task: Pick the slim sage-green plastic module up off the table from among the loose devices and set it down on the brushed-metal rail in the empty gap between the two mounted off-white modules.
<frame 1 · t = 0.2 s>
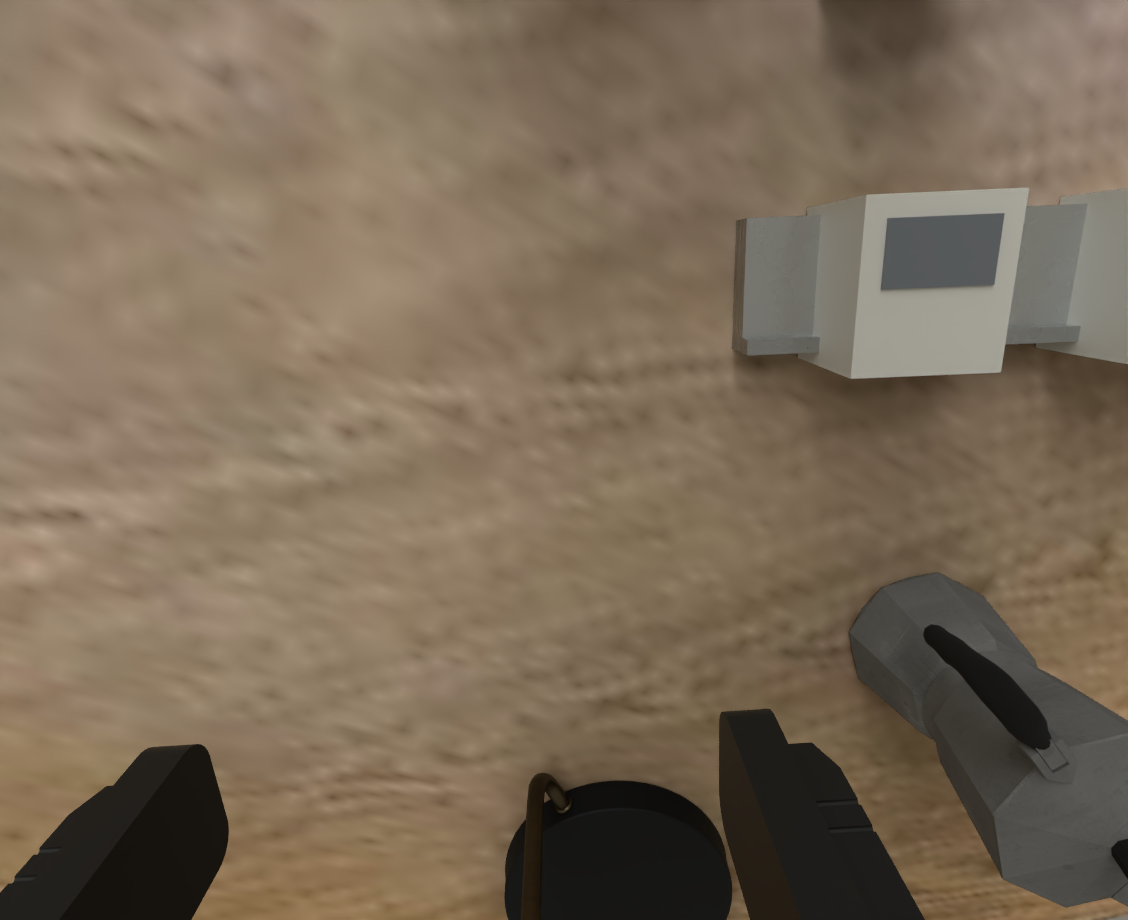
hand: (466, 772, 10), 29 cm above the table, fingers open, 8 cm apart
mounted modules: (988, 277, 36), resting on rail
coffeepot: (906, 621, 42), on the table
rail: (988, 277, 36), on the table
lamp: (605, 851, 48), on the table
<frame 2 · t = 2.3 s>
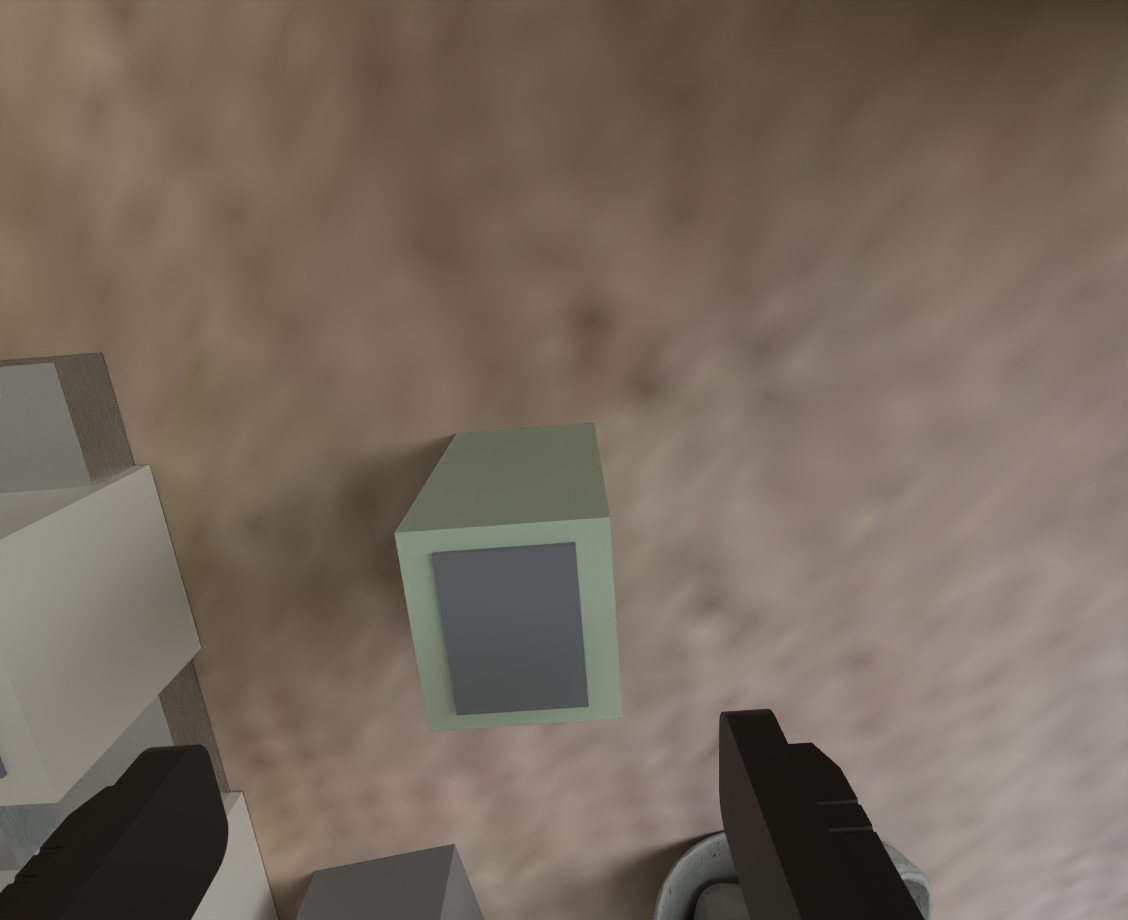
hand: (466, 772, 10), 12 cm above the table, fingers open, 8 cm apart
ceramic mug: (778, 882, 27), on the table
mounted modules: (118, 729, 25), resting on rail
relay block: (408, 908, 28), on the table
rail: (118, 729, 25), on the table
module: (532, 500, 22), on the table
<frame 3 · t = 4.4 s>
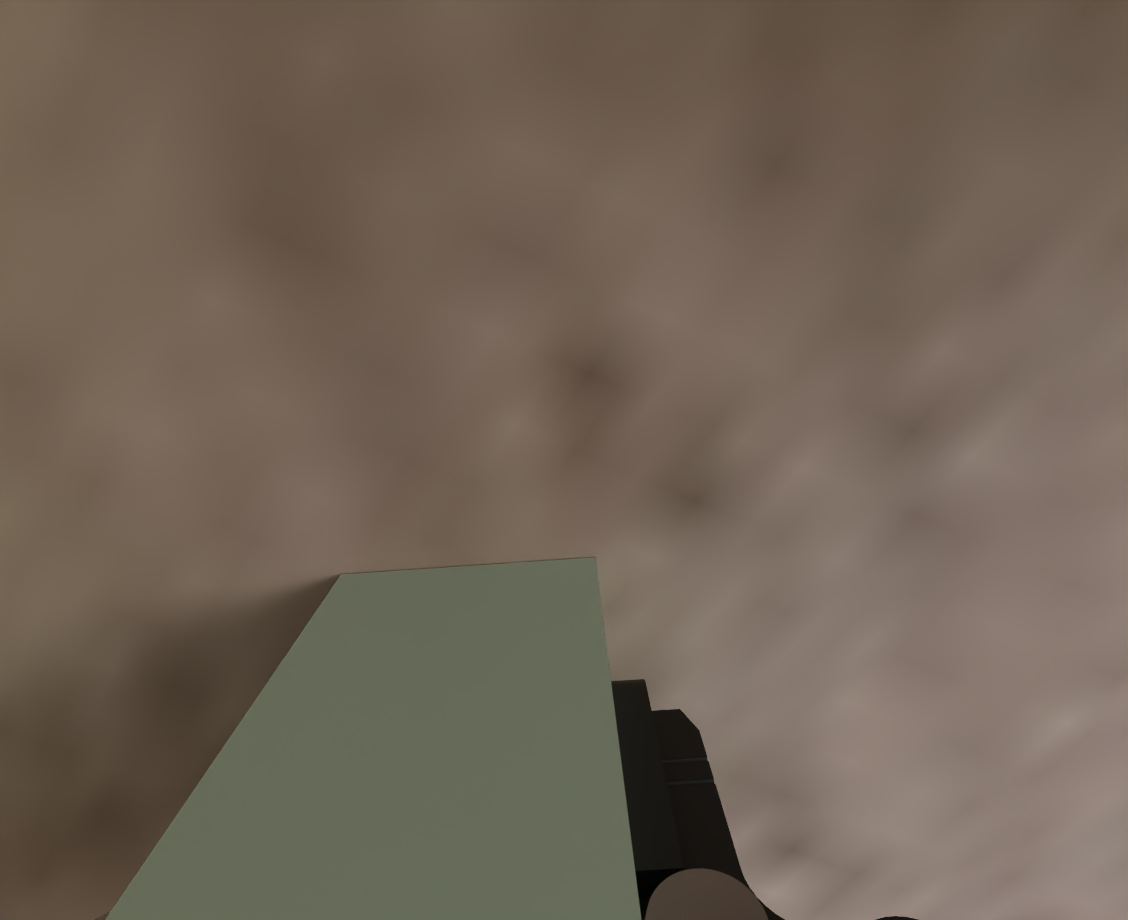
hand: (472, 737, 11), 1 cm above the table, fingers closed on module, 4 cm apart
module: (482, 686, 12), on the table, touching gripper
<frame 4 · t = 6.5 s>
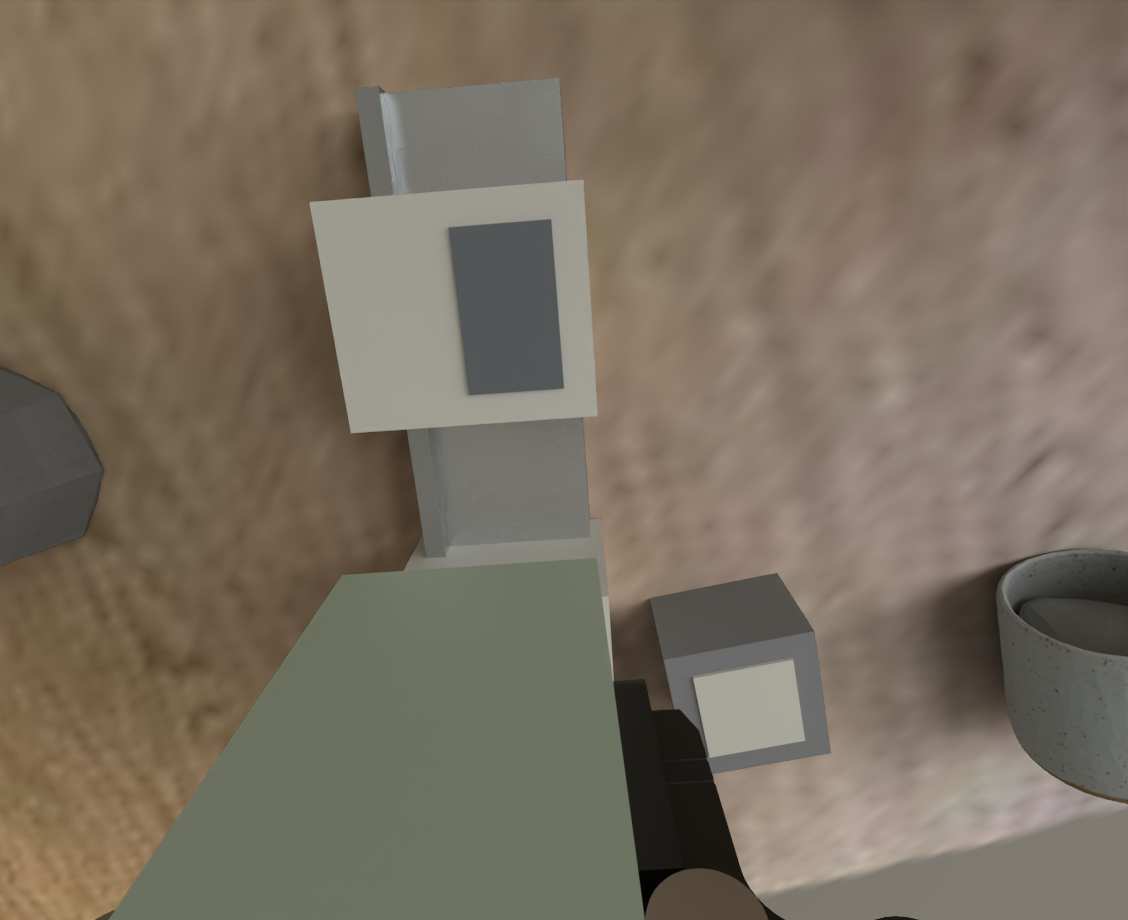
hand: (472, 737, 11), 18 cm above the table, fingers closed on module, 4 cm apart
ceramic mug: (1072, 611, 31), on the table
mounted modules: (505, 455, 29), resting on rail
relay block: (722, 638, 32), on the table
coffeepot: (20, 444, 29), on the table
rail: (505, 455, 29), on the table
module: (483, 687, 12), point 17 cm above the table, touching gripper
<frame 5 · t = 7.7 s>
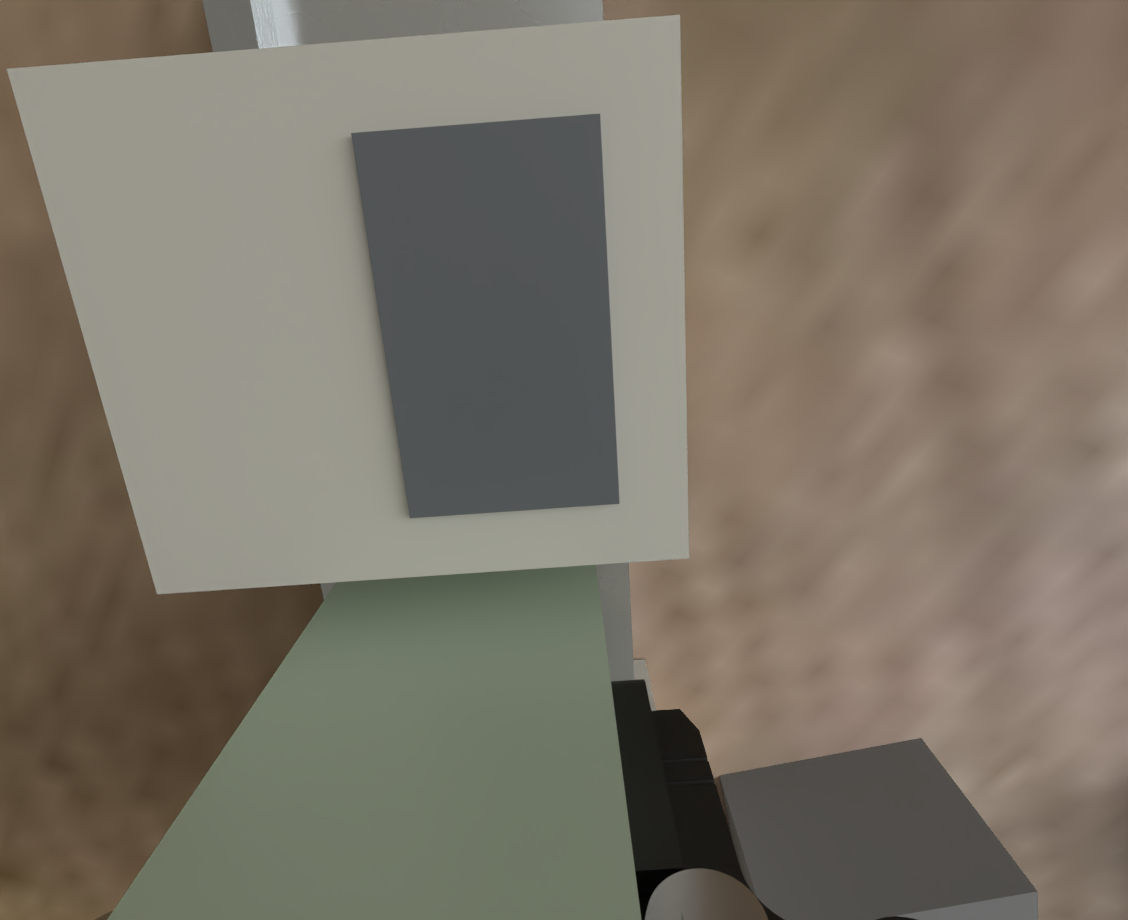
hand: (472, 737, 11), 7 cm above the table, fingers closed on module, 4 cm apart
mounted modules: (491, 563, 17), resting on rail
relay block: (828, 831, 20), on the table
rail: (491, 563, 17), on the table
module: (482, 688, 12), point 5 cm above the table, touching gripper
when the fingers open (5 cm above the table, at t = 8.9 s): module drops 1 cm, resting on rail.
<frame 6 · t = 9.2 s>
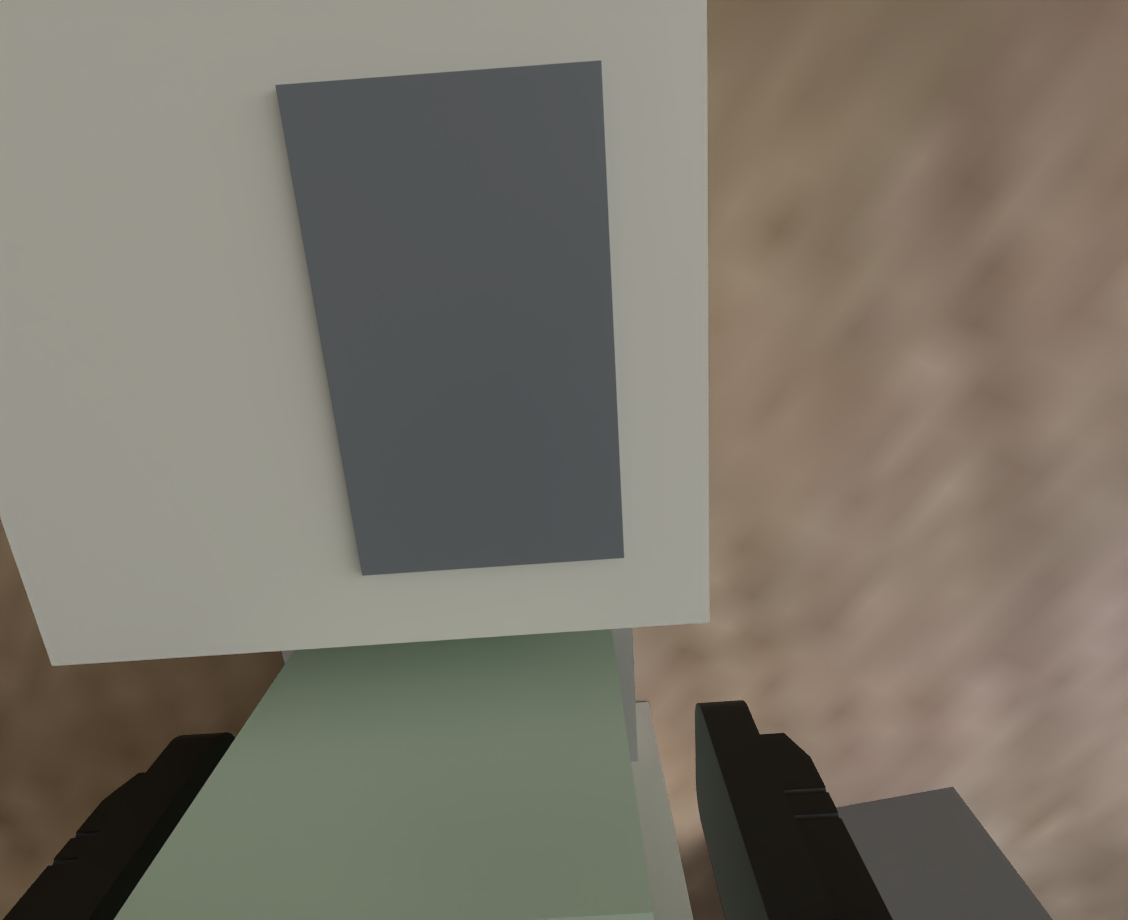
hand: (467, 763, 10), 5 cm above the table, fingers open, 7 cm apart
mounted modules: (476, 597, 16), resting on rail
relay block: (848, 886, 19), on the table
rail: (476, 597, 16), on the table
module: (494, 642, 14), point 2 cm above the table, touching rail
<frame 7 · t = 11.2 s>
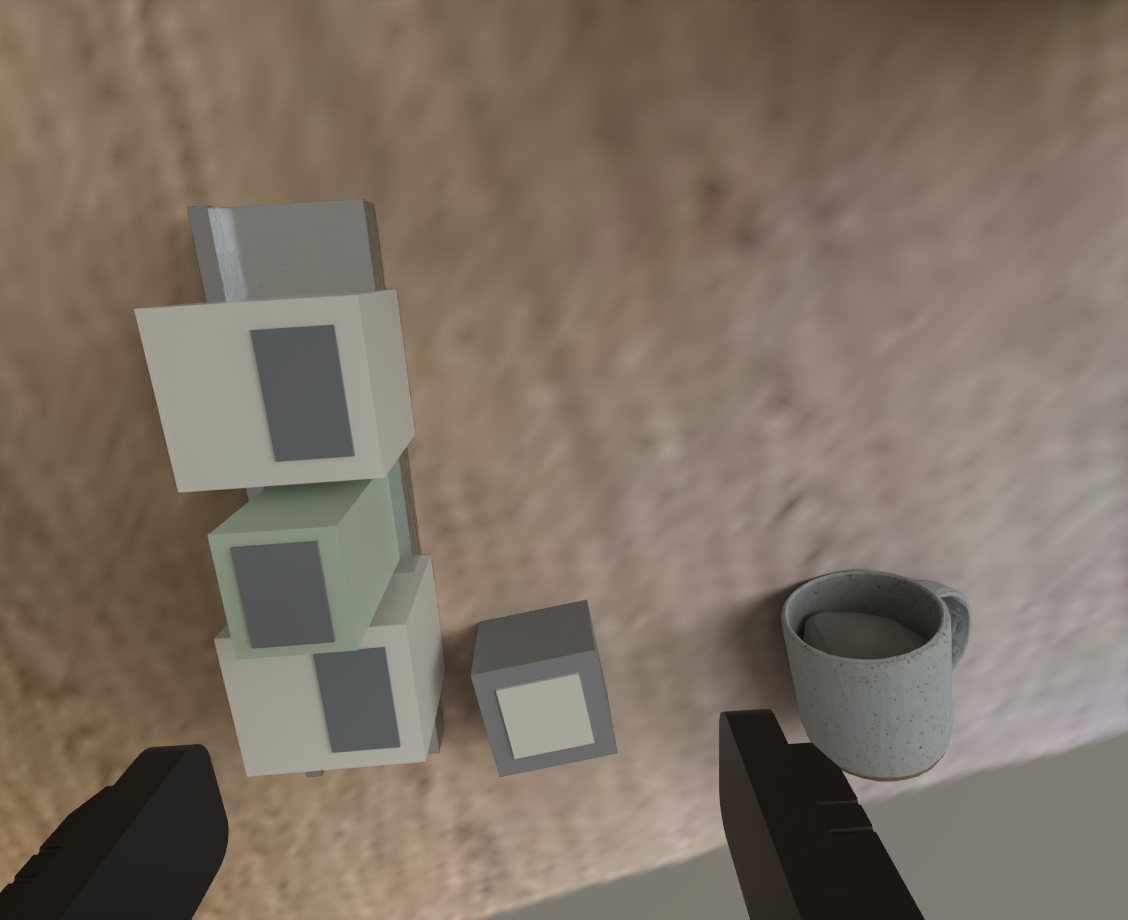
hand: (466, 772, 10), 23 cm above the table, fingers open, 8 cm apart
ceramic mug: (856, 622, 37), on the table
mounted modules: (344, 501, 33), resting on rail
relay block: (544, 656, 36), on the table
rail: (344, 501, 33), on the table
module: (345, 514, 31), point 2 cm above the table, touching rail
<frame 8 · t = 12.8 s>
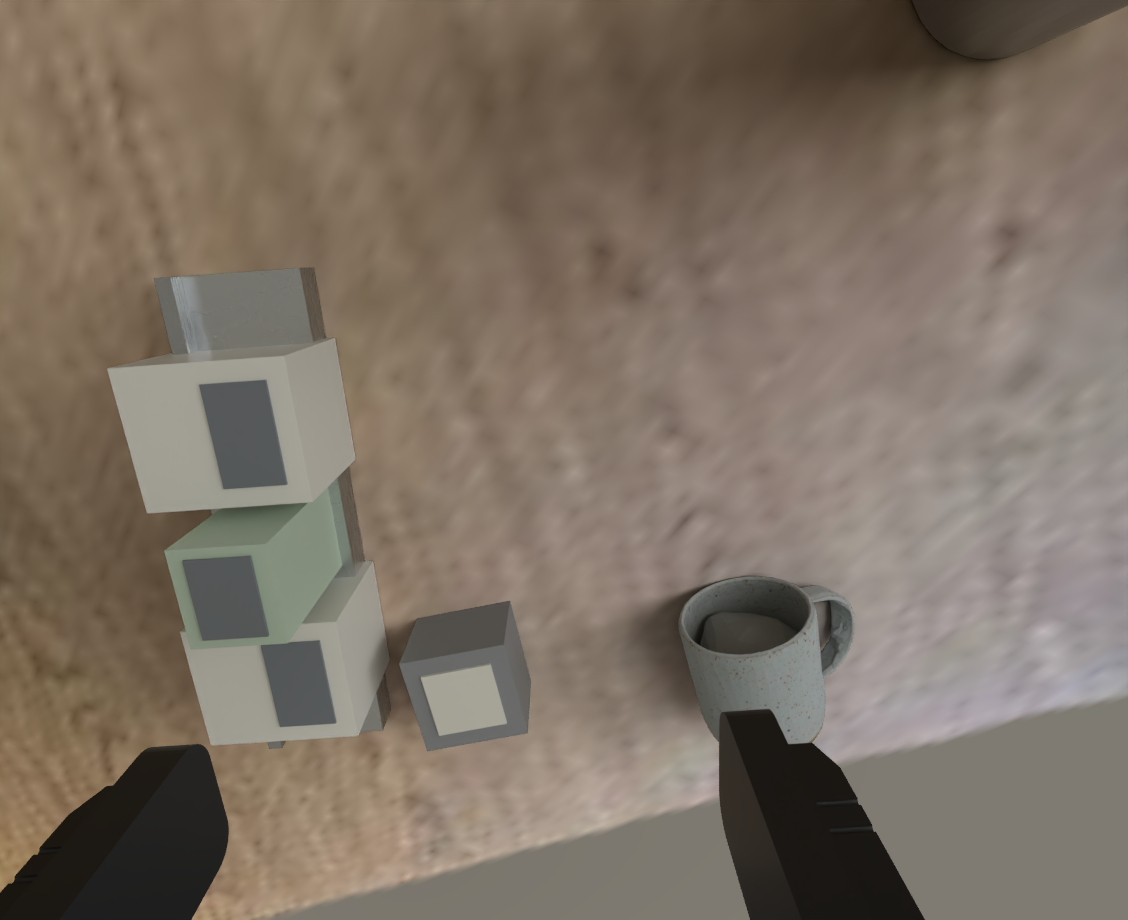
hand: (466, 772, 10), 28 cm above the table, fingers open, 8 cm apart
ceramic mug: (757, 621, 42), on the table
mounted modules: (297, 515, 39), resting on rail
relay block: (475, 649, 42), on the table
rail: (297, 515, 39), on the table
module: (295, 528, 37), point 2 cm above the table, touching rail
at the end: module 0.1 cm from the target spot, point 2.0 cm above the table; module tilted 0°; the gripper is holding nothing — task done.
